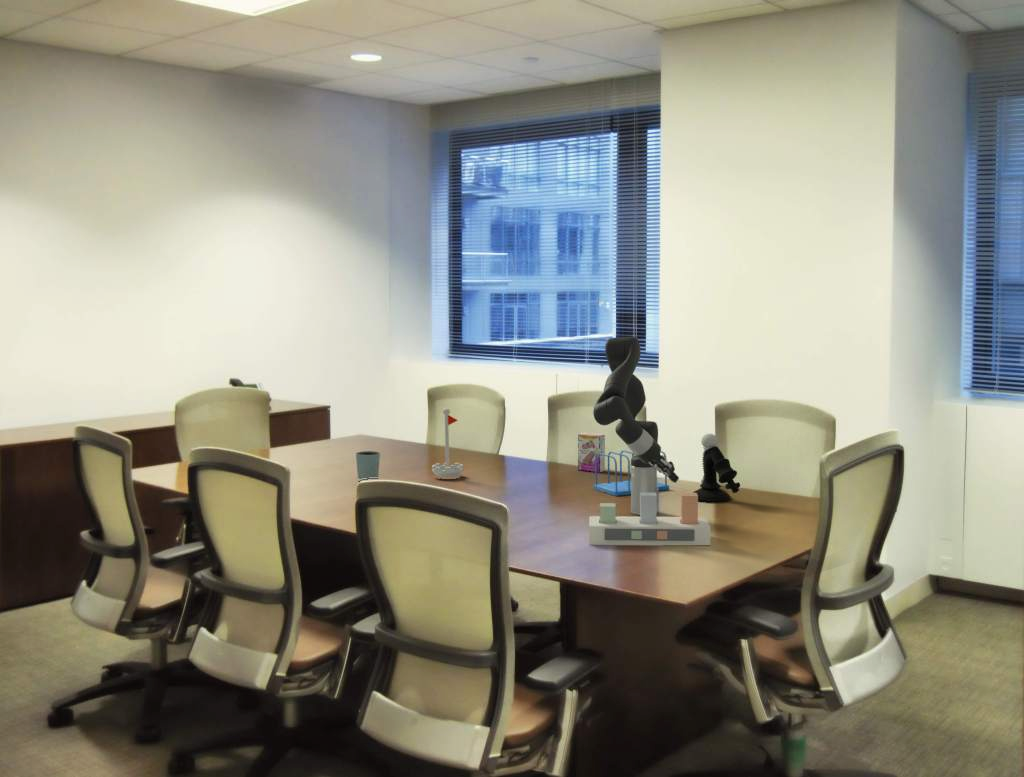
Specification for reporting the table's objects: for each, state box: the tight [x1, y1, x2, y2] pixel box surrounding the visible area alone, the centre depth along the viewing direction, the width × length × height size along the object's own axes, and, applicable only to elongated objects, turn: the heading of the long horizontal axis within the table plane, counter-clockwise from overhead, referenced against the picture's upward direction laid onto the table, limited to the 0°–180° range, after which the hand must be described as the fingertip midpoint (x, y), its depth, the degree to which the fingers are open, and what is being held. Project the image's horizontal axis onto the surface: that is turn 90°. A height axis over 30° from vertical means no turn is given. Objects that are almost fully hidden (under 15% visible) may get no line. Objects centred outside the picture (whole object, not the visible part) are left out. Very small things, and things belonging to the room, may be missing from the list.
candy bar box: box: [577, 432, 606, 474], centre depth 455 cm, size 11×5×16 cm, turn 58°
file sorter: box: [593, 449, 670, 497], centre depth 415 cm, size 25×17×15 cm
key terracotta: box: [680, 492, 699, 524], centre depth 332 cm, size 5×5×10 cm
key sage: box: [599, 502, 617, 523], centre depth 335 cm, size 5×5×10 cm
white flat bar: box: [588, 515, 711, 546], centre depth 334 cm, size 38×15×6 cm, turn 85°
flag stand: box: [431, 407, 464, 477], centre depth 444 cm, size 13×13×30 cm
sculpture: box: [692, 433, 741, 504], centre depth 390 cm, size 15×24×25 cm, turn 27°
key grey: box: [639, 492, 658, 524], centre depth 334 cm, size 5×5×10 cm
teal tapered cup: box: [355, 450, 381, 481], centre depth 440 cm, size 10×10×12 cm
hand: (676, 480), depth 329 cm, fingers closed
